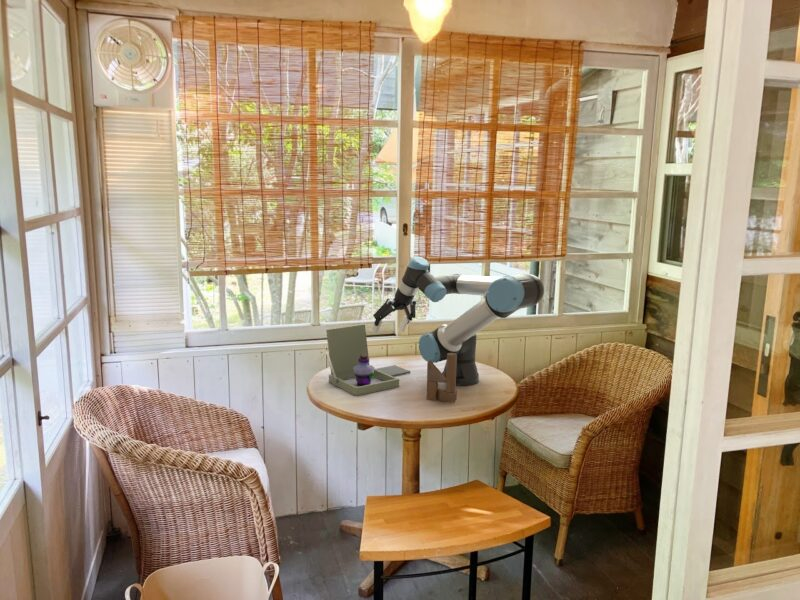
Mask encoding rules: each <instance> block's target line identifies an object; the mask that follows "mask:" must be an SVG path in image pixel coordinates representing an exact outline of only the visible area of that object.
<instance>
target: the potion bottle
mask: <svg viewBox="0 0 800 600" xmlns="http://www.w3.org/2000/svg"><path fill="white" fill-rule="evenodd" d="M368 357H369V355H368V356H367V355H366V354H363V355H360V358H358V361H359V362H360V365H356V366H354V367H353V370H354V374H355V376H356V378H355V381H356V385H357V387H360V386H364V385H369V384H372V383H371V382H372V379H373V378H374V374H373V373H374V369H376V368H375V366H374V365H371V364H369V365H367V363H368V362H369V363H370V357H369V358H368Z"/></svg>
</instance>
